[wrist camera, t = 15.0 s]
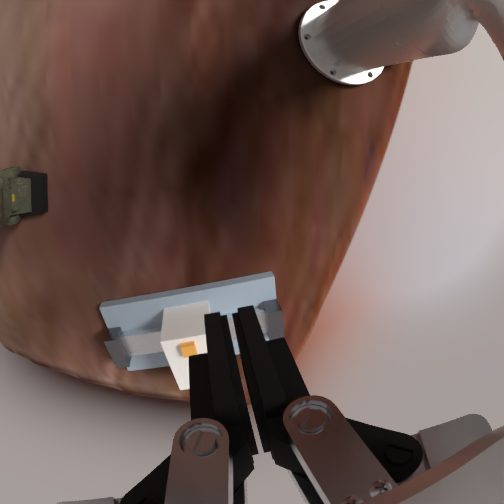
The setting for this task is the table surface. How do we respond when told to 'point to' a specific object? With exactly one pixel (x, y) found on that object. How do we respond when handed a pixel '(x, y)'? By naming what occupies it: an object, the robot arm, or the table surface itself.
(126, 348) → the rail
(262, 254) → the table surface
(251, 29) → the table surface
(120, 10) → the table surface
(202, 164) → the table surface
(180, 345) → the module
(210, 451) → the robot arm
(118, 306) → the board
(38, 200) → the green creature figurine
